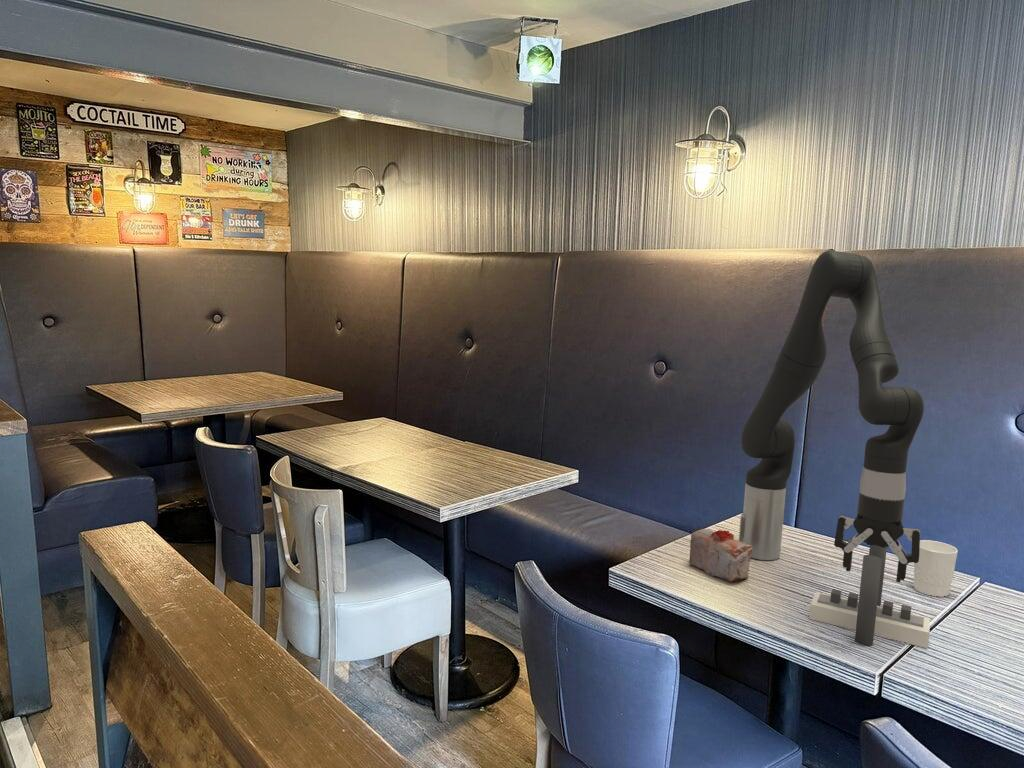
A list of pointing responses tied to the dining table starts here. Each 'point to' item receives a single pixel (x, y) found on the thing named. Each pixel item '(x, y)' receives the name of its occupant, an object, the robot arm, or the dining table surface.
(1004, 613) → the dining table surface
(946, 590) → the white cup
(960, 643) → the dining table surface
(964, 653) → the dining table surface
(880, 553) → the dark grey cylinder rod
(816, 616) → the breaker panel
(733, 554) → the food item
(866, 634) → the dark grey post
